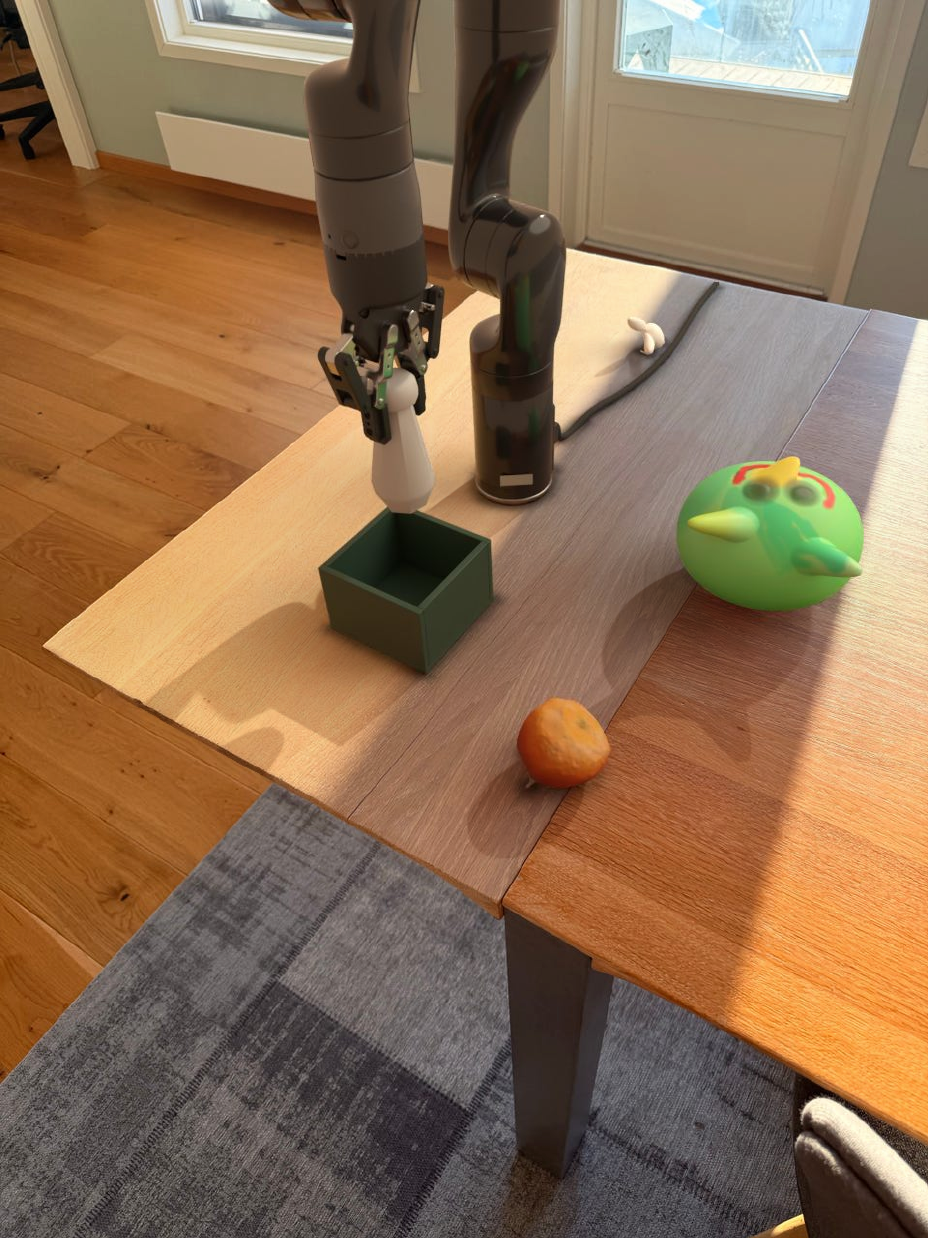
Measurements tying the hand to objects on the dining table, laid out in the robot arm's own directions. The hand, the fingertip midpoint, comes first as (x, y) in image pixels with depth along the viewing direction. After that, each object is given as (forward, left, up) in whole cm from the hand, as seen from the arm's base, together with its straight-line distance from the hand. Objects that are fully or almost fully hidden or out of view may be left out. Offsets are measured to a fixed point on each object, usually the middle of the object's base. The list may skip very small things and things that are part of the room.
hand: (396, 425), depth 78 cm
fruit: (+8, +22, -24) cm, 34 cm away
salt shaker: (0, 0, -8) cm, 8 cm away
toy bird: (-22, +28, -24) cm, 43 cm away
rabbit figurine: (-61, -4, -24) cm, 66 cm away
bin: (0, -1, -24) cm, 24 cm away
